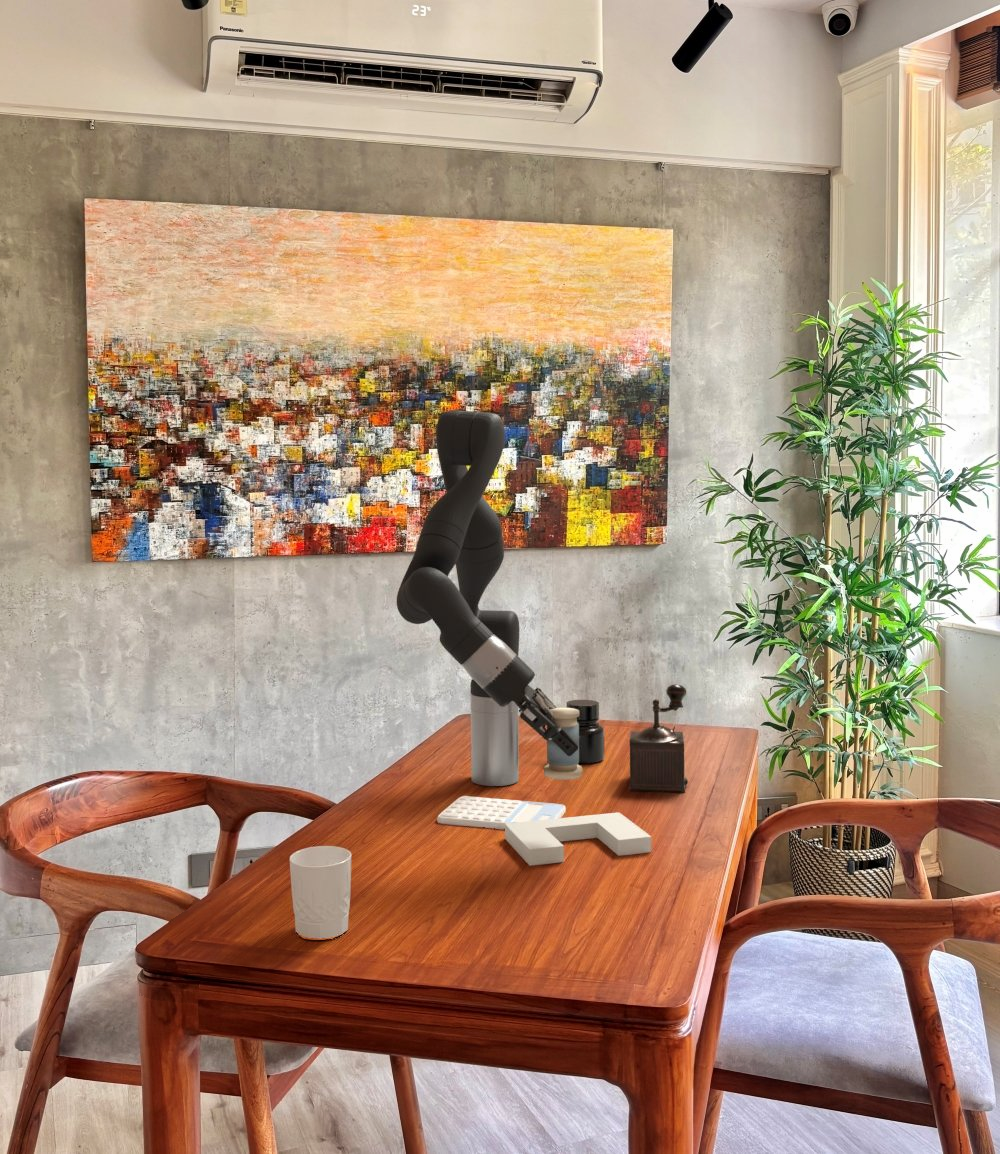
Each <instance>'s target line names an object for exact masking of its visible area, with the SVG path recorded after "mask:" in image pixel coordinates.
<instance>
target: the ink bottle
mask: <svg viewBox="0 0 1000 1154" xmlns="http://www.w3.org/2000/svg"><path fill="white" fill-rule="evenodd" d="M566 708H573V709H577V710H579V716H578V717H577V723H579V736H580V740H579V763H578V764H580V763H583V765H585V764H586V765H587V764H595V762H596V763H599V762H601V761H602V760H604V758H605V729H604V727H603V726H602V725H601V724H600V722H598V721H599V720H600V702H599V701H597V700H592V699H572V700H568V701H566Z"/></svg>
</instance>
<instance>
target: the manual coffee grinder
mask: <svg viewBox="0 0 1000 1154" xmlns="http://www.w3.org/2000/svg"><path fill="white" fill-rule="evenodd" d="M665 691H666V692H665V693H666V695H667V696H668V698H669V700H670V702H669V704H668V707H660V700H659V699H653V701H652V705H653V706H652V712H653V725H652V726H648V727H647V728H644V729H643V730H639V731H638V730H637V731H636V730H634V731H632V730H631V731H630V733H629V734H630V735H629V791H630V792H638V793H639V792H640V793H641V792H642V793H671V794H673V793H675V794H676V793H677V794H678V793H679V794H680V793H681V794H682V793H683V794H685V793H686V787H687V785H688V783H689V782H688V780H689V779H688V778H687V777H685V775H686V774H685V773H686V772H685V771H686V770H685V765H686V764H685V736H684V734H683V731H675V729H676V726H673V728H669V727H667V726H665V725H660V717H659V716H660V713H667V712H670V711H674V712H677V710H679V709H682V708H684V705H683V702H682V701H683V699H684V698H685V697H686V695H687V689H686V688H685V687H684V686H683V685H681V684H671V685H669V686H668V687H667V688H666V690H665Z"/></svg>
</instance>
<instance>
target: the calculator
mask: <svg viewBox="0 0 1000 1154" xmlns="http://www.w3.org/2000/svg"><path fill="white" fill-rule="evenodd" d="M566 811H567V810H566V805H565V804H562V803H561V804H560V803H552V802H540V801H528V800H527V801H526V800H518V799H509V798H506V799H504V798H503V799H502V798H491V797H482V796H481V797H480V796H468V795H462V796H460V797H458V798H457V799H456V800H454V801H453V802H452V803H451V804H450V805H449V806H447V807H446V808H445V809H444V810H443V811H441V812H440V813H439V814H438V815H437V818H436V819H437V820H436V821H437V823H438V824H442V825H451V826H460V827H461V826H463V827H474V828H483V827H485V828H484V829H494V828H495V829H496V830H504V829H505V824H507V823H517V822H527V821H537V820H548V819H558V818H563V816H564V815H565V814H566ZM564 813H565V814H564ZM495 829H494V830H495Z"/></svg>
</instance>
